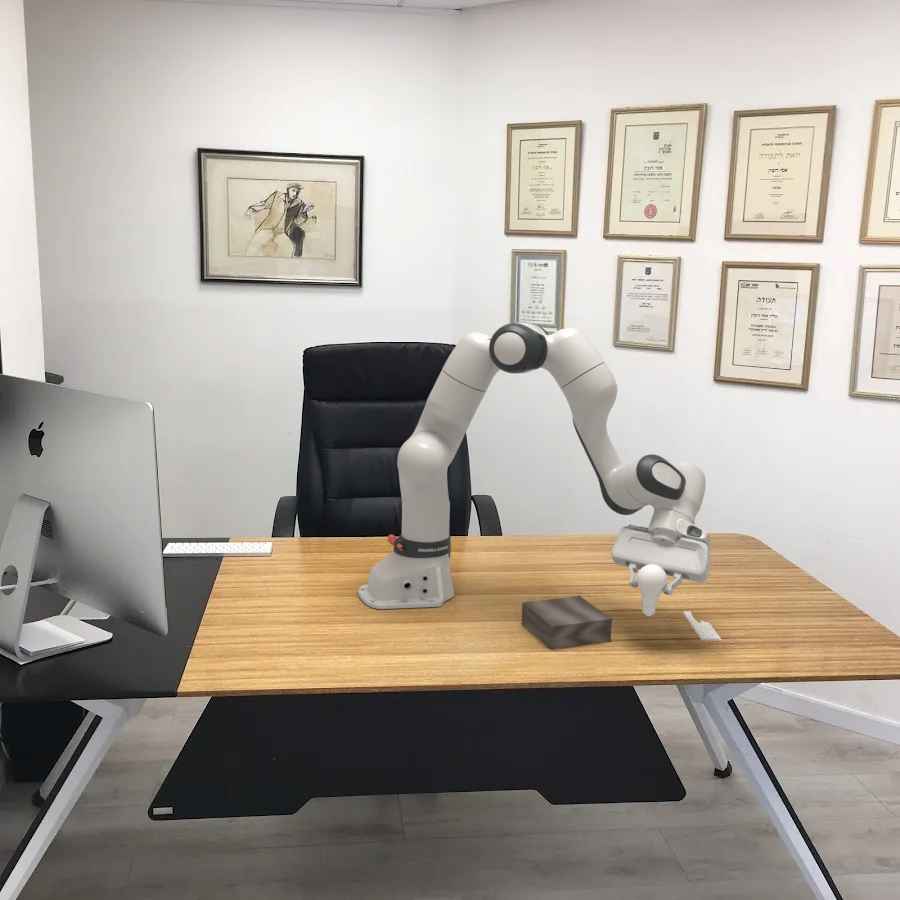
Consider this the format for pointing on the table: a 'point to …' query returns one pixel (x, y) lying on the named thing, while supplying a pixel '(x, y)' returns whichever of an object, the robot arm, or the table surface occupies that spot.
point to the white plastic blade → (702, 628)
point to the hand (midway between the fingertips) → (649, 589)
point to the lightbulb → (651, 586)
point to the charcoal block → (566, 622)
